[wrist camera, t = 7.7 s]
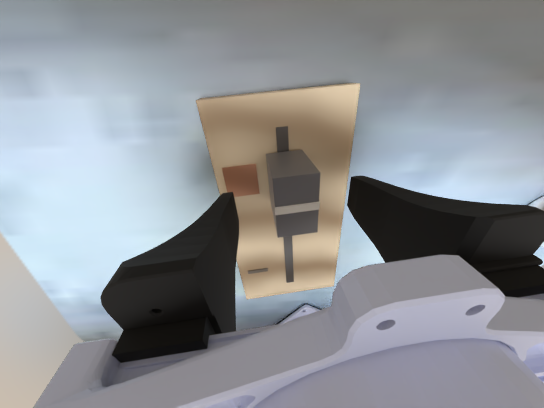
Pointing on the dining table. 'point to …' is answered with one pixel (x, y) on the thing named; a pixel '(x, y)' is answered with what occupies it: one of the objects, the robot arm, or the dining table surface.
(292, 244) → the fader board
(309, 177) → the fader knob
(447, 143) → the dining table surface
